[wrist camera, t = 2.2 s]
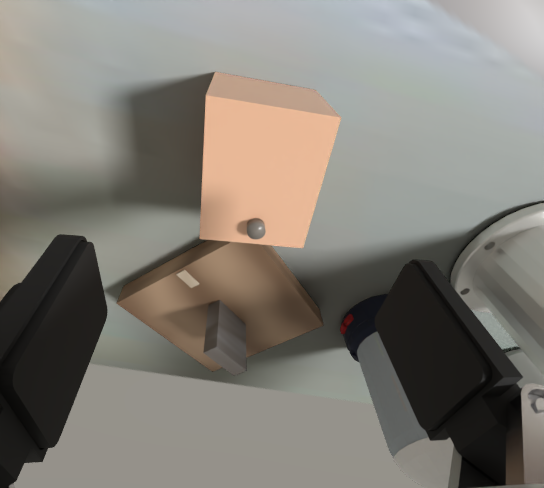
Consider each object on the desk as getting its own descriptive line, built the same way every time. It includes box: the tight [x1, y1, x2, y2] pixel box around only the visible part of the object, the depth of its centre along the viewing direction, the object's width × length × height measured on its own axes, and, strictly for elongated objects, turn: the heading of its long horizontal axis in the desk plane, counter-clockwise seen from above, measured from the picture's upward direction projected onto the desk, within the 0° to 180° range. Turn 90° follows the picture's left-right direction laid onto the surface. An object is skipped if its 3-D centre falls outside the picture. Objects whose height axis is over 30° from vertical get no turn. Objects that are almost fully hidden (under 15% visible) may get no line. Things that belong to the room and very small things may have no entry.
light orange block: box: [200, 72, 341, 248], centre depth 18 cm, size 6×8×7 cm
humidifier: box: [340, 294, 454, 488], centre depth 23 cm, size 8×8×25 cm
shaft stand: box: [117, 240, 324, 376], centre depth 26 cm, size 13×13×7 cm
